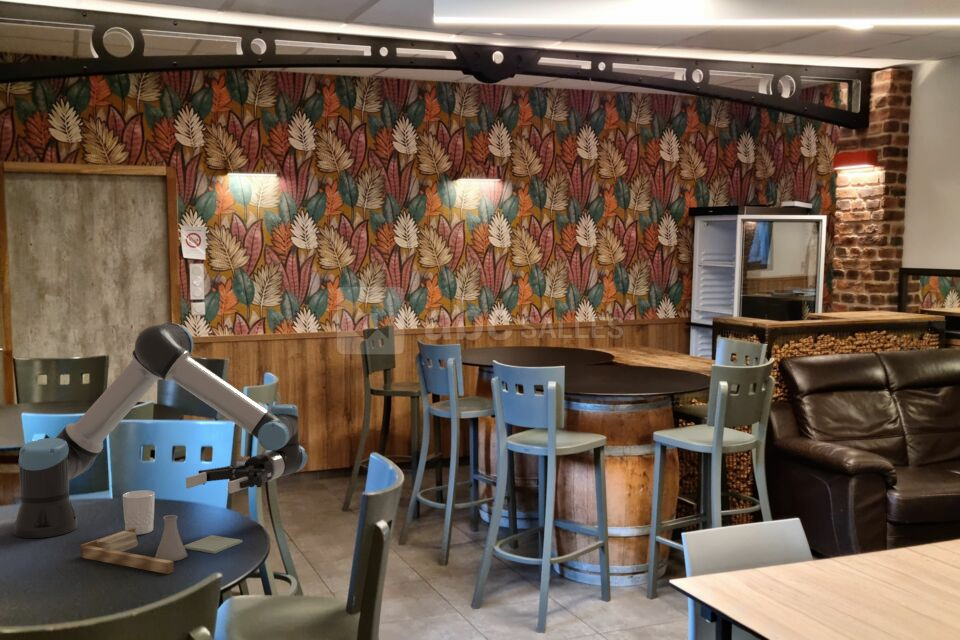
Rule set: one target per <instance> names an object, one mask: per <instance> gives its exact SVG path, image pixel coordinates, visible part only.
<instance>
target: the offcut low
mask: <svg viewBox="0 0 960 640" xmlns="http://www.w3.org/2000/svg"><path fill="white" fill-rule="evenodd" d="M138 543H139V541H138V540H137V541H135V542H132V543H130V544H127V545H124V546H122V547H119V548H117V549H114V550H115V551H121V552H125V551H128V550H131V549H134V548H136V547H138V546H139V545H138Z"/></svg>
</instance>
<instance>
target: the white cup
mask: <svg viewBox="0 0 960 640" xmlns="http://www.w3.org/2000/svg"><path fill="white" fill-rule="evenodd" d="M155 495H156V494H155V491H152V490H148V489H147V490H141V489H140V490H134V491H128V492H125V493H123V494H122V505H123V506H122V507H123V518H124V520H123V521H124V528H125V529H124V530H127V529H130V528H135V530H136V536H140V535H146V534H149V533H152V531H153V530H154V520H155V499H156V498H155Z"/></svg>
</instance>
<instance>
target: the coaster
mask: <svg viewBox="0 0 960 640" xmlns="http://www.w3.org/2000/svg"><path fill="white" fill-rule="evenodd" d="M242 543H243V539H239V538H231V537H225V536H219V535H214V534H213V535H212V534H211V535H208V536H206V537H203V538H200V539H197V540H195V541H192V542H189V543H187V544H185V545H184V544H183V546H184V548H185V550H192V551H197V552H198V551H199V552H204V553H208V554H209V553H210V554H217V553H219V552H222V551H224V550H228V549H229V548H231V547H234V546H237V545H240V544H242Z"/></svg>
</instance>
